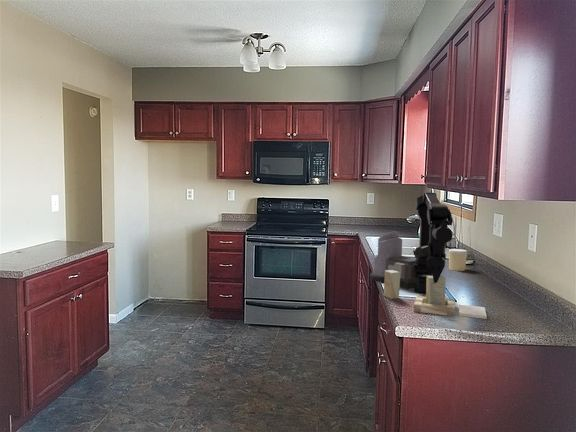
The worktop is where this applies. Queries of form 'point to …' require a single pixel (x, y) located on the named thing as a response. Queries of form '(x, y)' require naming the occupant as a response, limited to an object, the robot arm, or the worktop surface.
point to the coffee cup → (457, 259)
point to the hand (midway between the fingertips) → (435, 281)
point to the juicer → (393, 261)
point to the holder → (434, 307)
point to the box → (391, 284)
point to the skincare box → (435, 291)
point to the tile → (472, 311)
